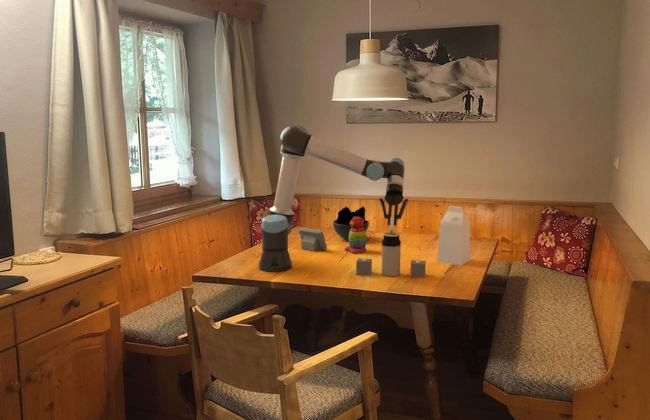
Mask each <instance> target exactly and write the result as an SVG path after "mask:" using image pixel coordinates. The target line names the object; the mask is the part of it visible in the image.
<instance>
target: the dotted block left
mask: <svg viewBox="0 0 650 420" xmlns="http://www.w3.org/2000/svg"><path fill="white" fill-rule="evenodd" d="M355 263H356V264H355V265H356V267H355V268H356V269H355V270H356V271H355V272H356V273H355V274H356V276H368V277H369V276H371V275H372V272H373V259H372V258H359V257H358V258H357V259H356V262H355Z"/></svg>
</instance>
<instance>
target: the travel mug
mask: <svg viewBox="0 0 650 420" xmlns="http://www.w3.org/2000/svg"><path fill="white" fill-rule="evenodd" d="M382 236H383V239H382V240H381V274H382V275H383V276H385V277H392V278H393V277H397V276H400V275H401V251H402V250H401V249H402V247H401V244H402V243H401V242H402V241H401V239H400V236H401V233H400V232H396V231H394V233H390V231H389V232H388V231H387V232H383V233H382Z"/></svg>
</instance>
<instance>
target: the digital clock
mask: <svg viewBox="0 0 650 420" xmlns="http://www.w3.org/2000/svg"><path fill="white" fill-rule="evenodd" d="M298 234H299V236H300V240H301V247H300V248H301V250H303V251H304V250H305V251H309V252H318V251H326V250H327V249H328V246H327V242H326V238H325V234H324V232H323V230H317V229H311V228H304V227H299V229H298Z"/></svg>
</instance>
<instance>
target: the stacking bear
mask: <svg viewBox="0 0 650 420" xmlns="http://www.w3.org/2000/svg"><path fill="white" fill-rule="evenodd" d="M350 225H351V227H352V228H351V229H350V232H349V240H348V245H349V246H345V248H344V251H345V252H350V253H351V254H353V255H357V254H358V255H359V254H364V253H366V252H367V247H366V246H367V242H368V237H367V236H368V235H367V231H365V229H364V228H363V225H364V220H363V219H362V218H361V217H356V216H354V218H352V220H351V221H350Z"/></svg>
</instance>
